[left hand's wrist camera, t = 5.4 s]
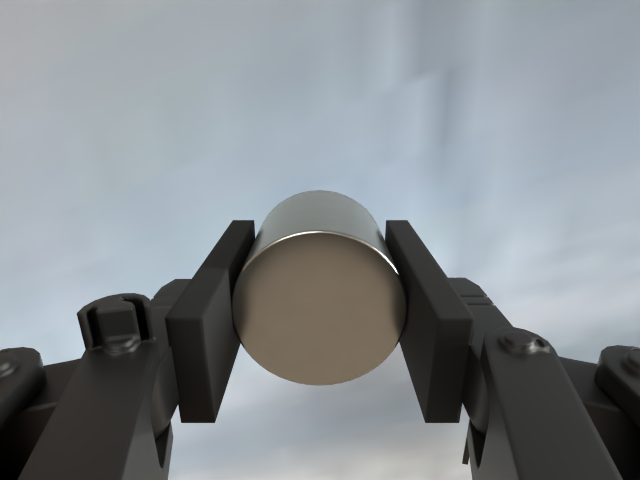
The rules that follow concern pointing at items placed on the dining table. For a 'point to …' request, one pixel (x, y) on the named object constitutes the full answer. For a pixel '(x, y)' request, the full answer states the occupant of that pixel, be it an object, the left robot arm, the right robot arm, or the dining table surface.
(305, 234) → the canister
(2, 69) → the dining table surface
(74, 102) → the dining table surface
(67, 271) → the dining table surface
